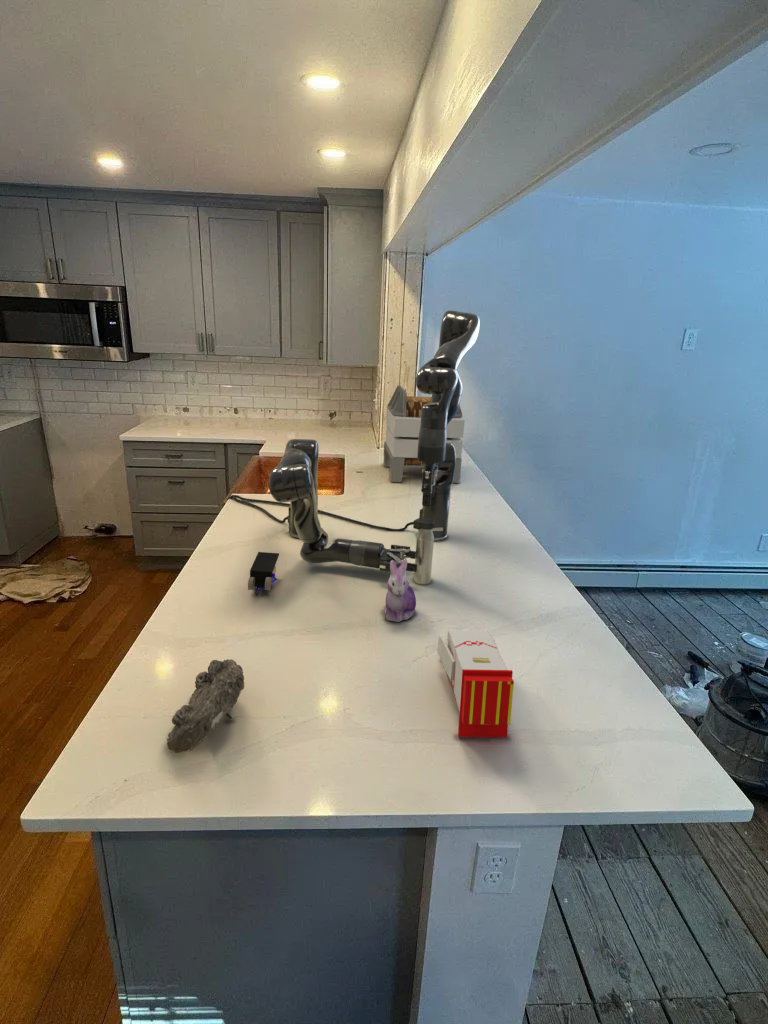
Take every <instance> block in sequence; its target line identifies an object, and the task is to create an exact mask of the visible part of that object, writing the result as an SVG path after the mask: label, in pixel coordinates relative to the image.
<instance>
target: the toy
mask: <svg viewBox="0 0 768 1024" xmlns="http://www.w3.org/2000/svg"><path fill="white" fill-rule="evenodd" d="M446 640H447V643H446V641H445V639H444V636H443V635H442V634H439V637H438V646H437V656H438V657H439V659H440V661H441V663H442V666H443V668H444V670H445V672H446V674H447V677H448V679H449V681H450V684H451V687H452V690H453V693H454V697H455V701H456V705H457V708H458V711H459V714H458V715H459V716H458V730H457V731H458V732H457V737H458V738H508V731H509V726H510V725H511V717H512V707H513V697H514V696H513V695H514V684H515V680H514V679H513V673H514V671H513V670H512V669H508V667H507V665H506V662H505V661H504V659H503V658H502V655H501V653H500V651H499V649H498V647H497V643H496V639H495V637H494V635H493V634H491V632H490V631H489V629H467V628H466V629H465V628H463V629H461V628H460V629H459V628H448V630H447V639H446Z"/></svg>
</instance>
